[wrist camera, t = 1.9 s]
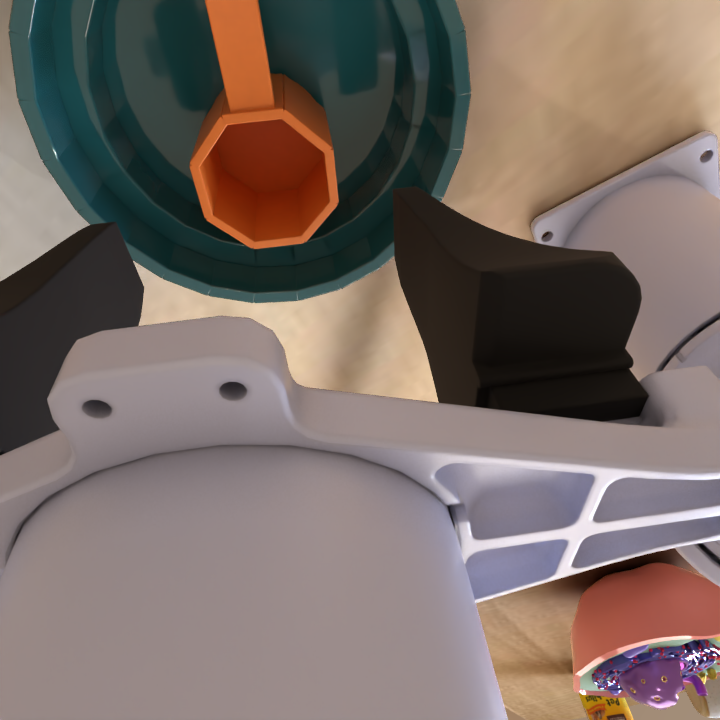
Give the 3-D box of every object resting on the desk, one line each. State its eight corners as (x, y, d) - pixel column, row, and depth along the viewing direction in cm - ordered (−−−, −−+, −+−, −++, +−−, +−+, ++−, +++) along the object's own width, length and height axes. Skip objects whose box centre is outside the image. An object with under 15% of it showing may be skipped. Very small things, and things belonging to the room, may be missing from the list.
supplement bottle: (607, 657, 71) (646, 748, 64) (611, 667, 75) (649, 754, 67) (567, 667, 72) (600, 758, 65) (573, 677, 76) (605, 764, 68)
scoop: (333, 187, 21) (342, 239, 18) (224, 199, 21) (215, 254, 18) (303, -86, 15) (310, -79, 12) (153, -72, 15) (121, -61, 12)
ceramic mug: (678, 655, 74) (711, 719, 69) (737, 642, 73) (775, 706, 68) (670, 674, 82) (699, 733, 76) (724, 662, 80) (757, 721, 75)
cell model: (645, 616, 62) (702, 730, 53) (506, 608, 55) (547, 737, 47) (764, 545, 51) (858, 671, 43) (612, 525, 45) (687, 670, 37)
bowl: (487, 148, 21) (522, 193, 18) (230, 293, 24) (223, 352, 21) (318, -304, 13) (330, -363, 10) (-35, 7, 16) (-109, 36, 13)
